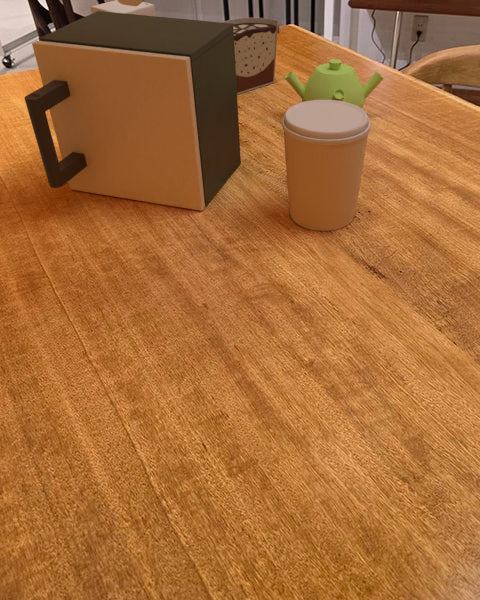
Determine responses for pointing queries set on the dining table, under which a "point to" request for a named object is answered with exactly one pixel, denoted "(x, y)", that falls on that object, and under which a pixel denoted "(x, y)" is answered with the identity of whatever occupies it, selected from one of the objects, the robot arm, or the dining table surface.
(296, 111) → the coffee cup
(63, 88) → the door
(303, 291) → the dining table surface
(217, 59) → the cupboard
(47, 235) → the dining table surface
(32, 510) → the dining table surface
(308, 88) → the teapot
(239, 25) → the food container
